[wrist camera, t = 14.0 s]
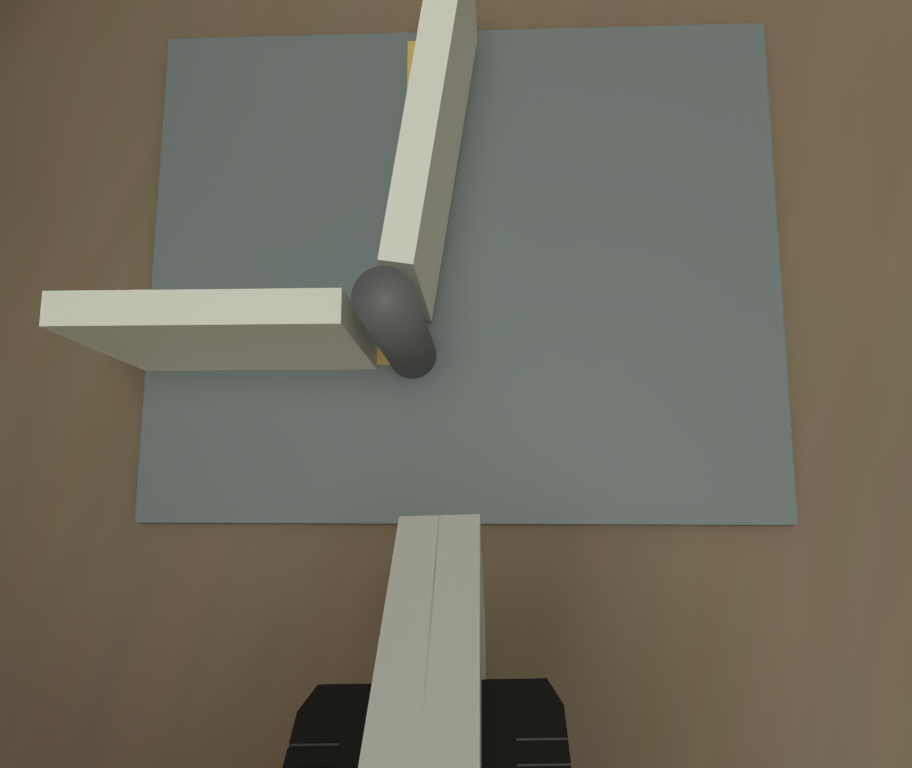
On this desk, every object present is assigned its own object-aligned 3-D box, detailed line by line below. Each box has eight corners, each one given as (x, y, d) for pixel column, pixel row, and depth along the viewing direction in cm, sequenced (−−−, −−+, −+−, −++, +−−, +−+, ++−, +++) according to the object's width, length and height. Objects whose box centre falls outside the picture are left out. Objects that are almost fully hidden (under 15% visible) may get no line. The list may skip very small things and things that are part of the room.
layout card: (139, 522, 33) (133, 522, 33) (173, 45, 37) (167, 37, 36) (793, 524, 32) (798, 524, 31) (760, 29, 36) (764, 21, 35)
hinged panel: (431, 321, 33) (413, 264, 26) (403, 317, 33) (377, 259, 26) (477, 41, 35) (472, -87, 28) (450, 38, 35) (438, -90, 28)
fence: (144, 380, 34) (19, 331, 25) (147, 334, 34) (25, 269, 25) (436, 378, 33) (414, 327, 24) (436, 332, 33) (415, 265, 25)
